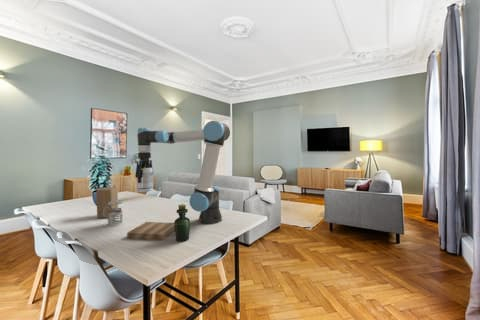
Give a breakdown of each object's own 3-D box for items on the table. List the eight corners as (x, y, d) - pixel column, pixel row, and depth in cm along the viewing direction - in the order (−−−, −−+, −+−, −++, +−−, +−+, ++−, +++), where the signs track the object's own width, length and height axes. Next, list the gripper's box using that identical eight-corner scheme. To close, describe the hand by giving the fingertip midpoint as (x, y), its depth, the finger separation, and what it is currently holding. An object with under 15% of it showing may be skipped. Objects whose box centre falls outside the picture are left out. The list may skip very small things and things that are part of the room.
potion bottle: (190, 241, 110) (190, 206, 109) (174, 243, 108) (173, 207, 107) (189, 235, 118) (189, 203, 117) (174, 237, 116) (173, 204, 115)
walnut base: (177, 228, 130) (177, 223, 130) (162, 240, 112) (162, 234, 112) (146, 226, 132) (145, 221, 132) (127, 238, 114) (127, 232, 114)
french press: (126, 224, 137) (126, 185, 136) (106, 229, 128) (105, 187, 127) (121, 220, 143) (120, 183, 142) (101, 225, 135) (100, 185, 134)
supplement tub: (154, 191, 138) (154, 168, 138) (138, 192, 133) (137, 168, 133) (151, 188, 146) (150, 167, 146) (136, 190, 141) (135, 168, 141)
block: (104, 214, 158) (103, 187, 158) (118, 214, 159) (118, 187, 158) (96, 218, 148) (95, 189, 148) (111, 218, 149) (111, 189, 148)
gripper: (148, 152, 150) (149, 184, 151) (128, 152, 128) (128, 189, 129) (158, 152, 149) (159, 184, 150) (139, 152, 127) (140, 189, 128)
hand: (145, 186), depth 140 cm, fingers closed on supplement tub, 9 cm apart
